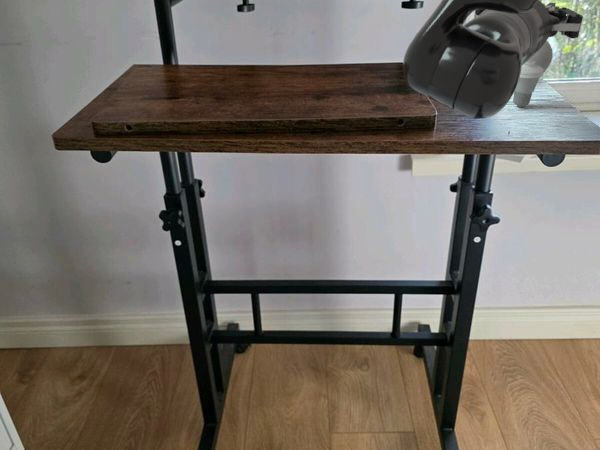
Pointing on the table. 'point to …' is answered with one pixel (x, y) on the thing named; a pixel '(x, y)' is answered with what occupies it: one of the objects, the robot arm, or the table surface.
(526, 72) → the chess piece
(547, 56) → the lightbulb
